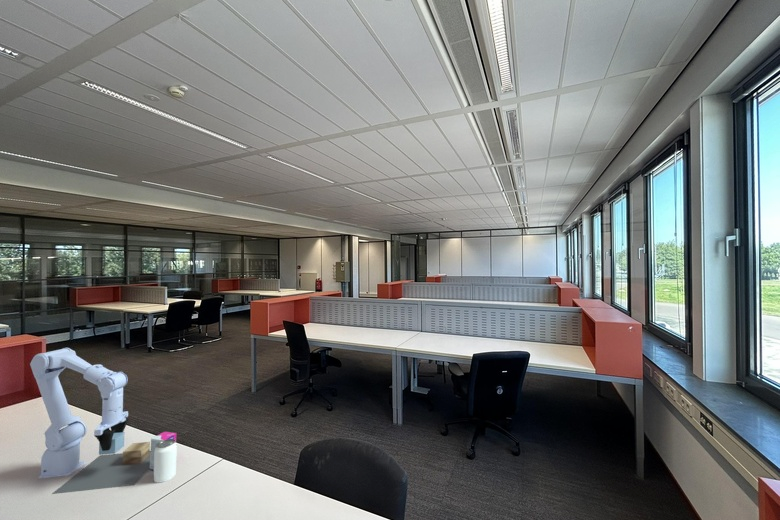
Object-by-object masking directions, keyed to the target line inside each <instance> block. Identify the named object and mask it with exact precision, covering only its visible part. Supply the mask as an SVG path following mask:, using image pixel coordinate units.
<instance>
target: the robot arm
mask: <svg viewBox="0 0 780 520" xmlns="http://www.w3.org/2000/svg"><path fill="white" fill-rule="evenodd" d="M29 365H30V368H31V371H32V374H33V377H34V379H35V381H36V383H37V386H38V391H39V392H40V395H41V397H42V398H41V399H42V401H43V403H44V407H45V409H46V412H47V415H48V418H49V421H50V423H51V424H50V426H48V428H47V429H46V430H45V431H44V433H43V435H44V438H45V442H44V445H45V447H46V450H44V452H43V454H42V456H41V458H40V459H41V460H40V463H41V464H40V475H39V476H38V479H46V478H57V477H67V476H70V475H72V474H73V473H75V472H76V471H77V470H78V469H79V468H81V467H82V466H84V465H85V464H86V462H87V461H86V460H85V461H80V459H81V457H80V455H81V454H80V453H81V442H82V441H83V437H85V436H86V434H87V431H88V430H87V425H86V424H85V422H83V421H82V419H81V417H80V416H77V415H73V413H72V412H71V409H70V407H69V403H68V400H67V398H66V395H65V392H64V389H63V386H62V384H61V382H60V378H59V375H60V374H61V372H63V371H64V370H65V369H66V368H67V369H70V370H72V371H74V372H77V373H80V374H82V375H83V376H82V377H83V380H86V381H88V382H90V383H92V384H93V385H95V386H97V389H98V391H99V393H100V397H101V399H102V401H101V402H102V406H101V407H102V409H101V410H102V411H101V422H100V424H99V425H98V426H97V427H96V429H94V431H93V436H94V437H95V438H96V439H97V440H98V443H100V445H101V448H102V451H107V450H110V447H111V442H112V437H113V434H114V433H121V432H125V429H126V427H127V425H128V423H129V421H130V420H129V419H128V417H129V411H128V410H127V411H125V410H123V409H124V387H126V385H128V381H129V380H128V379H129V378H128V376H127V374H126V373H124V372H123V371H117V372H116V371H113V370H110V369H109V368H107V367H105V366H104V365H103V364H99V363H98V364H93V365H92V364H91V363H89V362H87V360H84V359H83V358H82V357H80V356H78V355H77V353H76V351H75V350H73V349H71V348H70V347H63V348H61V349H56V350H51V351H47V352H46V351H45V352H41V353H37V354H35V355H34V356H33V358H32V360H31V362H30V363H29Z"/></svg>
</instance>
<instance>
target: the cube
mask: <svg viewBox="0 0 780 520" xmlns="http://www.w3.org/2000/svg"><path fill="white" fill-rule="evenodd" d="M98 443H99V442H98ZM124 446H125V431H123V432H121V433H114V434H113V437H112V442H111V447H110V450H107V451H102V448H101V445H100V443H99V447H98V455H99V456H100V455H109V454H117V452H119V451H120V450H121V449H122V448H123V447H124Z"/></svg>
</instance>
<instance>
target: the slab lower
mask: <svg viewBox="0 0 780 520" xmlns="http://www.w3.org/2000/svg"><path fill="white" fill-rule="evenodd" d="M150 451H151V448H150V449H148V450H147V451H146V452H145V453H144V454H143V455H142V456H141V457H135V458H125V459H123V465H133V464H141V463H142V462H143V461H144V460H145V459H146V458H147V457H148V456H149V455H150Z"/></svg>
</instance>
